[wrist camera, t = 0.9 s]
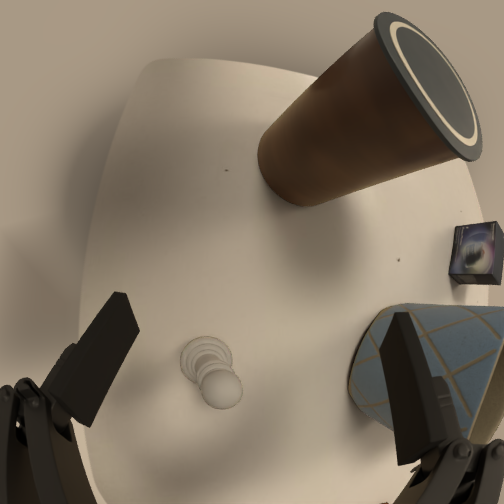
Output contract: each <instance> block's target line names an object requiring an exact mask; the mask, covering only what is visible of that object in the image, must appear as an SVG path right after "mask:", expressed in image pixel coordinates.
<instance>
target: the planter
mask: <svg viewBox="0 0 504 504" xmlns="http://www.w3.org/2000/svg"><path fill="white" fill-rule="evenodd" d="M395 312H409V314H410V317H411V319H412V322H413V324H414V327H415V329H416V332H417V335H418V337H419V340H420V343H421V345H422V348H423V351H424V354H425V357H426V360H427V363H428V366H429V369H430V372H431V375H432V377H436V376H442V377H443V379H444V380H445V381H446V383H447V384H448V386H449V390H450V393H451V397H452V399H453V405H454V406H455V410H456V413H457V417H458V421H459V425H460V429H461V433H462V435H463V437H464V438H467V439H468V440H469V441H470V442H471V443H472V444H488V442H489V441H490V440H491V438H492V436H493V435H494V433H495V431H496V430H497V428H498V426H499V424H500V422H501V420H502V418H503V416H504V307H495V306H460V305H433V304H414V303H405V304H399V305H394V306H390V307H387V308H385V309H383V310H382V311H381V312H380V313H379V314H378V316H377V317H376V319H375V320H374V322H373V323H372V325H371V326H370V328H369V330H368V331H367V333H366V335H365V337H364V339H363V341H362V343H361V345H360V347H359V350H358V352H357V355H356V358H355V361H354V364H353V367H352V371H351V375H350V380H349V387H348V389H349V393H350V395H351V397H352V398H353V400H354V401H355V403H356V405H357V406H358V408H359V409H360V410H361V411H362V412H363V413H365V414H366V415H368V416H369V417H371V418H372V419H374V420H376V421H377V422H379V423H380V424H382V425H384V426H385V427H387V428H389V429H390V430H392V431H394V429H393V422H392V415H391V409H390V403H389V398H388V392H387V387H386V382H385V377H384V372H383V367H382V363H381V358H380V354H379V348H380V346H381V344H382V341H383V339H384V337H385V335H386V332H387V330H388V328H389V325H390V323H391V320H392V318H393V315H394V313H395Z"/></svg>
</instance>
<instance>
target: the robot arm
mask: <svg viewBox="0 0 504 504" xmlns="http://www.w3.org/2000/svg"><path fill="white" fill-rule="evenodd" d="M139 332H140V330H139V327H138V324H137V322H136V319H135V317H134V314H133V311H132V308H131V306H130V303H129V300H128V297H127V294H126V293H121V292H114V293H113V294H112V295H111V297H110V298H109V299H108V301H107V302H106V303H105V305H104V306H103V307H102V309H101V310H100V312H99V313H98V314H97V316H96V317H95V318H94V320H93V321H92V323H91V324H90V325H89V327H88V328H87V330H86V331H85V333H84V334H83V335H82V337H81V338H80V340H79V341H78V343H77V344H74V343H72V344H71V345H70V346H68V347H67V348H66V349H65V350H64V352H63V353H62V354H61V356H60V359H58V361H57V362H56V365H54V367H53V368H52V370H51V371H50V373H49V374H48V376H47V378H46V379H45V381H44V382H43V384H42V386H41V387H40V388H38V386H37V385H36V384H35V383H34V382H33V381H32V380H31V379H30V378H28V377H27V378H22V379H20V380H19V381H18V382H17V383H16V385H15V386H14V389H13V388H12V387H11V386H10V385H4V386H3V387H1V388H0V504H97V502H96V500H95V497H94V495H93V492H92V490H91V487H90V484H89V481H88V478H87V475H86V472H85V469H84V466H83V463H82V459H81V456H80V453H79V449H78V445H77V441H76V437H75V433H74V429H73V424H72V422H71V420H70V419H71V417H73V418H74V419H75V420H76V421H77V422H79V423H81V424H83V425H85V426H87V427H89V428H90V427H91V425H92V423H93V421H94V419H95V416H96V414H97V412H98V410H99V408H100V406H101V404H102V402H103V400H104V398H105V396H106V394H107V392H108V390H109V388H110V386H111V384H112V382H113V380H114V378H115V376H116V374H117V372H118V370H119V369H120V367H121V365H122V363H123V361H124V359H125V357H126V355H127V354H128V352H129V350H130V348H131V346H132V344H133V343H134V341H135V339H136V337H137V335H138V334H139ZM379 354H380V358H381V363H382V367H383V372H384V377H385V382H386V387H387V392H388V398H389V403H390V409H391V415H392V422H393V429H394V436H395V444H396V453H397V462H398V466H401V465H406V464H410V463H414V462H416V461H417V460H419V459H420V460H421V464H419V465H418V466H416V467H414V468H413V469H412V470H411V471H410V472H411V473H412V472H414V471H415V473H414V474H413V476H412V477H411V479H410V480H409V482H408V483H407V485H406V486H405V488H404V489H403V491H402V492H401V493H400V495H399V496H398V497H397V499H396V500H395V502H394V503H393V504H497V503H498V500H499V496H500V491H501V487H502V482H503V478H504V441H503V440H501V439H495V440H494V441H492V442H491V443H489V444H472V443H471V442H470V441H469V440H468V439H467V438H464V437H463V435H462V433H461V429H460V425H459V421H458V417H457V413H456V410H455V406H454V405H453V399H452V397H451V393H450V390H449V386H448V384H447V383H446V381H445V380H444V379H443V377H442V376H436V377H432V375H431V372H430V369H429V366H428V363H427V360H426V357H425V354H424V351H423V348H422V345H421V343H420V340H419V337H418V335H417V332H416V329H415V327H414V324H413V322H412V319H411V317H410V314H409V312H395V313H394V315H393V318H392V320H391V323H390V325H389V328H388V330H387V332H386V335H385V337H384V339H383V341H382V344H381V346H380V348H379ZM16 422H19V423H20V426H19V427H17V426H16Z"/></svg>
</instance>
